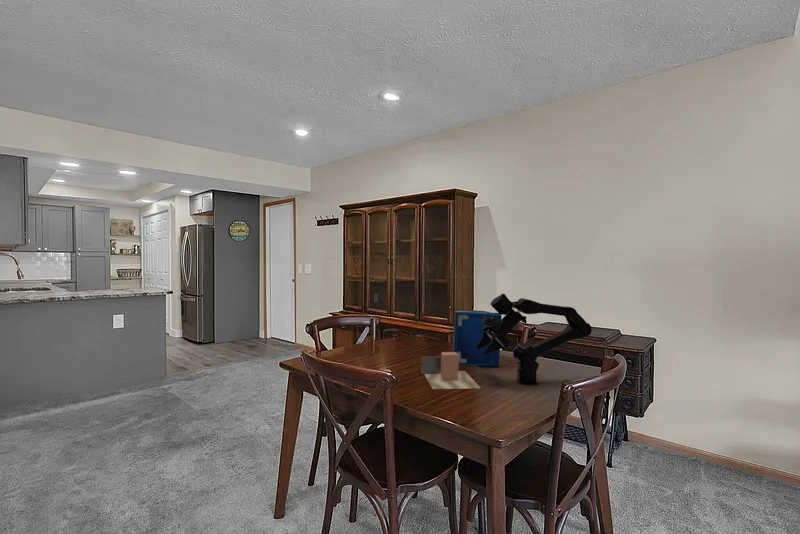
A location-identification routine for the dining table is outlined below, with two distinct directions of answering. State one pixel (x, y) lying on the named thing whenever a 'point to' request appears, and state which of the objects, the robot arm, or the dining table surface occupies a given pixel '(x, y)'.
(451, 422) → the dining table surface
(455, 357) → the salmon pink rectangular block
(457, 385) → the beige cloth placemat
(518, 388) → the dining table surface
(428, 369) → the bookend
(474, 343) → the book
